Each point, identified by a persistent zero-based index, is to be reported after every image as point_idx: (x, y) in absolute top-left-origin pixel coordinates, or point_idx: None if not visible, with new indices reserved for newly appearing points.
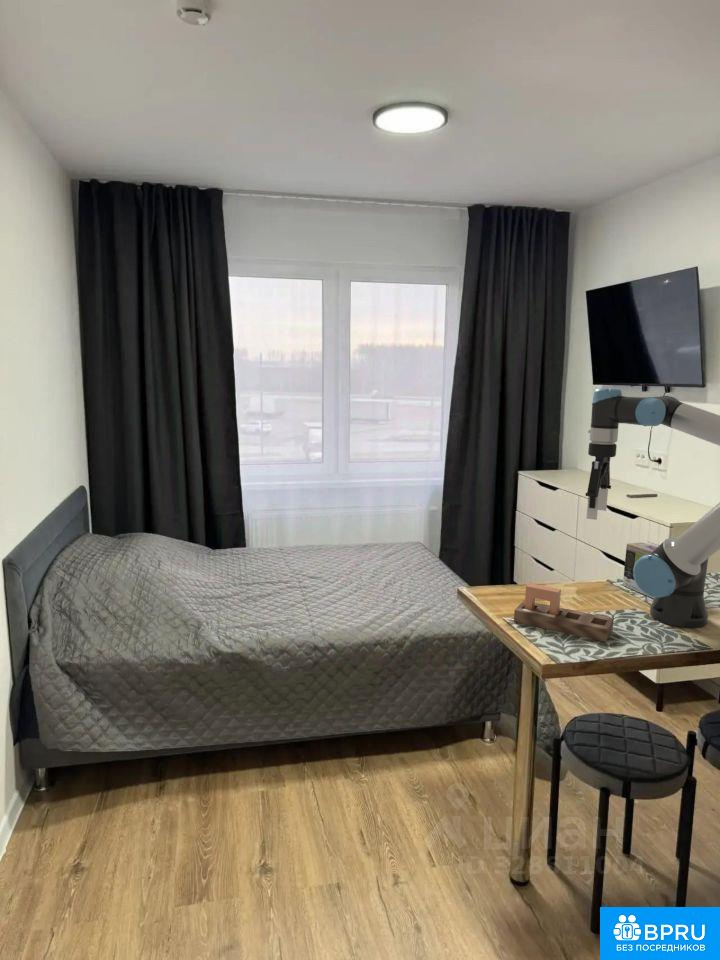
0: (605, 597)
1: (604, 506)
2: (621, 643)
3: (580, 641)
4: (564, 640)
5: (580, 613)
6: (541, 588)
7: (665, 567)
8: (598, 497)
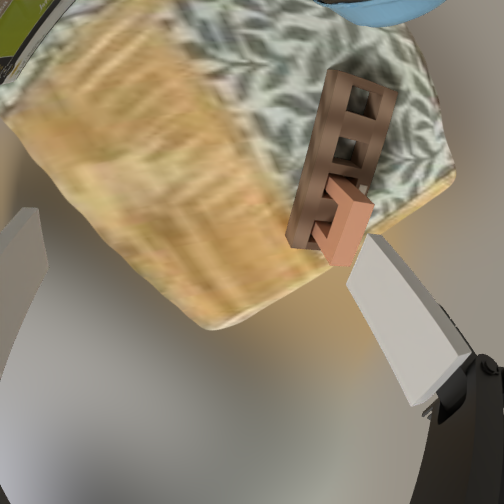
0: (109, 93)
1: (25, 237)
2: (381, 62)
3: (391, 132)
4: (392, 157)
5: (331, 137)
6: (357, 238)
7: None
8: (464, 351)
